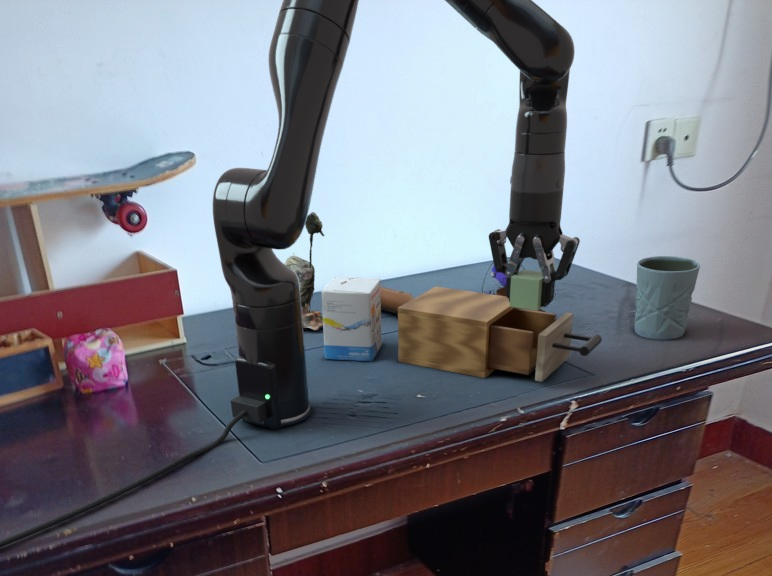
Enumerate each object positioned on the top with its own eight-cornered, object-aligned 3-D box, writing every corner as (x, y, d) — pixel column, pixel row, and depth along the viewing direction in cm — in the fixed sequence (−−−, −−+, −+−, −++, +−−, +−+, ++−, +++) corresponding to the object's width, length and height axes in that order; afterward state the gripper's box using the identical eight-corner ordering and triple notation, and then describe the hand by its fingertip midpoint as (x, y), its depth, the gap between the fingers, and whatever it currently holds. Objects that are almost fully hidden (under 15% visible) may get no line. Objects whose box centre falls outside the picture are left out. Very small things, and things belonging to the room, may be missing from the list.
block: (537, 311, 125) (539, 280, 123) (509, 306, 127) (511, 276, 125) (548, 302, 129) (550, 272, 126) (520, 298, 131) (522, 269, 128)
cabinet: (517, 352, 140) (520, 298, 135) (484, 378, 130) (487, 321, 126) (435, 337, 147) (435, 286, 142) (398, 361, 137) (397, 307, 132)
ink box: (372, 362, 138) (370, 292, 131) (323, 359, 139) (319, 290, 133) (383, 344, 145) (381, 277, 138) (336, 342, 146) (332, 275, 140)
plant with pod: (302, 313, 160) (294, 204, 150) (341, 326, 153) (335, 213, 143) (269, 323, 156) (258, 212, 145) (307, 337, 149) (298, 221, 138)
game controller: (547, 274, 166) (527, 275, 158) (529, 311, 170) (509, 315, 162) (506, 252, 169) (485, 253, 161) (490, 290, 173) (469, 292, 165)
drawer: (604, 362, 132) (609, 318, 128) (578, 388, 124) (584, 341, 120) (487, 342, 141) (489, 300, 137) (456, 365, 133) (457, 321, 129)
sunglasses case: (445, 311, 158) (434, 285, 152) (424, 337, 156) (412, 312, 151) (377, 294, 168) (365, 269, 163) (357, 318, 166) (344, 294, 161)
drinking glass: (699, 336, 144) (712, 266, 137) (650, 344, 141) (661, 274, 135) (664, 319, 152) (674, 253, 146) (617, 327, 149) (625, 259, 143)
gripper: (594, 184, 118) (581, 302, 127) (501, 177, 124) (496, 290, 134) (576, 194, 113) (564, 316, 122) (480, 186, 119) (476, 303, 128)
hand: (528, 302), depth 128 cm, fingers closed on block, 4 cm apart
